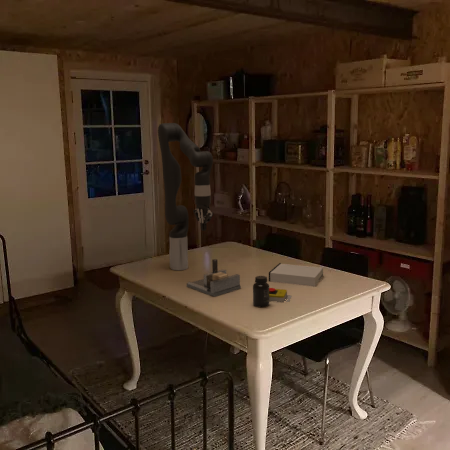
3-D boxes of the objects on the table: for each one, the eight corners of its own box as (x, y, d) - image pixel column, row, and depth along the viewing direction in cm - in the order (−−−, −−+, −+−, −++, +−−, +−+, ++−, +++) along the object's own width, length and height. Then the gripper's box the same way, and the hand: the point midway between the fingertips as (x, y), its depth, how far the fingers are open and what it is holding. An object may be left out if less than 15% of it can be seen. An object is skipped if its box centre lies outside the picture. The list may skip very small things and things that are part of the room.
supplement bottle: (268, 301, 218) (268, 274, 215) (270, 307, 211) (270, 279, 209) (252, 302, 218) (252, 275, 215) (253, 307, 211) (253, 280, 208)
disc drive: (279, 272, 261) (279, 262, 260) (323, 276, 252) (323, 266, 251) (268, 282, 245) (268, 272, 244) (314, 287, 236) (314, 277, 235)
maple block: (212, 287, 233) (212, 274, 232) (221, 284, 237) (220, 272, 235) (220, 289, 230) (219, 276, 228) (228, 287, 233) (228, 274, 232)
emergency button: (258, 284, 228) (292, 287, 224) (258, 294, 229) (292, 296, 225) (254, 291, 219) (289, 294, 215) (254, 301, 220) (289, 304, 216)
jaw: (203, 287, 233) (203, 261, 230) (223, 281, 240) (222, 256, 238) (207, 288, 231) (206, 262, 228) (226, 282, 239) (226, 257, 236)
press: (186, 286, 239) (186, 273, 238) (212, 279, 250) (212, 266, 248) (214, 297, 224) (214, 282, 223) (240, 288, 235) (240, 275, 234)
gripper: (217, 194, 237) (218, 231, 240) (199, 192, 246) (200, 227, 250) (205, 196, 232) (206, 233, 235) (187, 193, 241) (188, 229, 245)
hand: (203, 230), depth 243 cm, fingers closed
